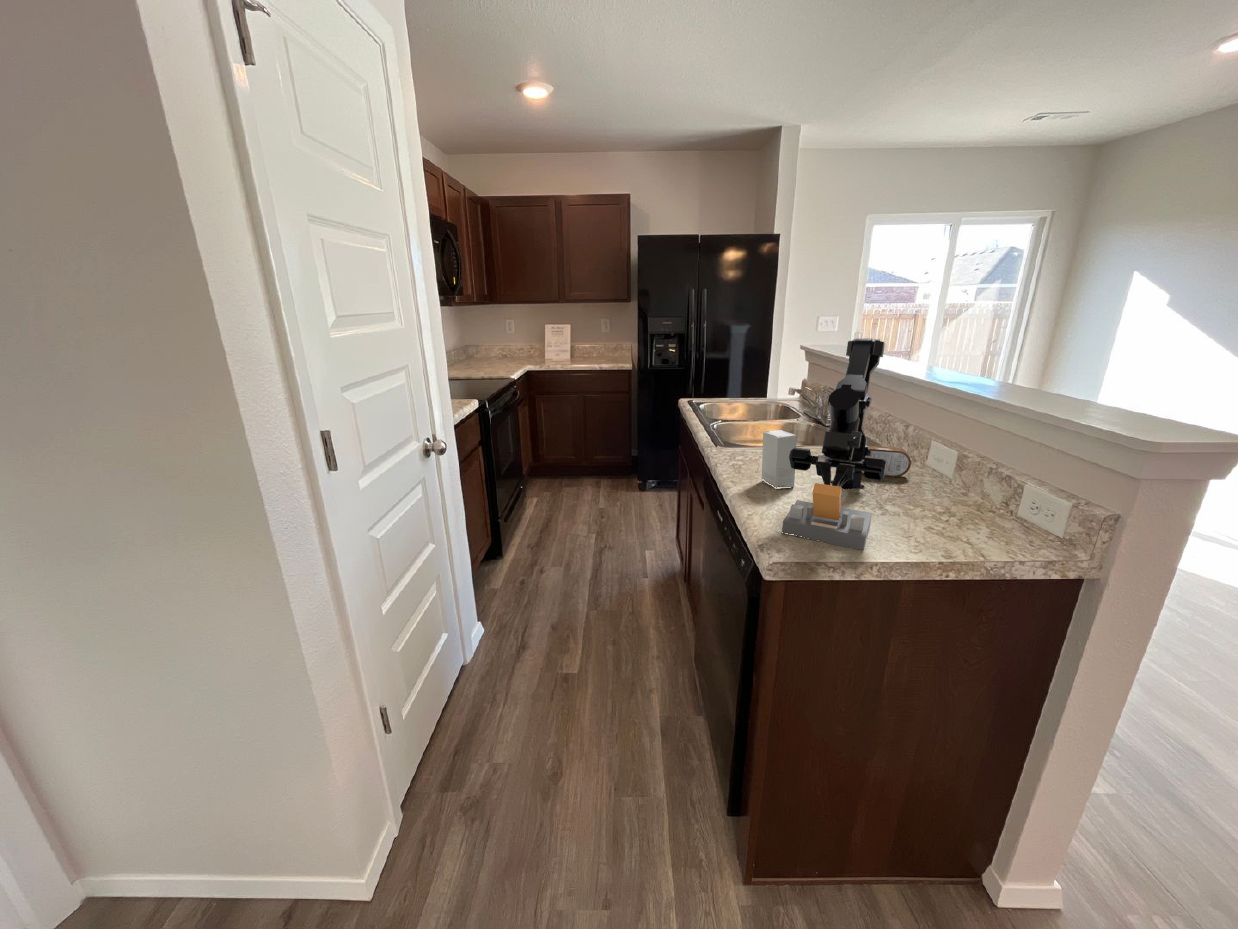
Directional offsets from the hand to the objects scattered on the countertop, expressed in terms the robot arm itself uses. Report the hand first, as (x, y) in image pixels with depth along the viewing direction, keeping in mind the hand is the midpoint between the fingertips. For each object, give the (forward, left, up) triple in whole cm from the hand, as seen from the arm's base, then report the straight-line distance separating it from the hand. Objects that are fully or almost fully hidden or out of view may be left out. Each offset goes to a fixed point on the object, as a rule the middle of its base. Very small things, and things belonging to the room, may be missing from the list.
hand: (828, 498), depth 101 cm
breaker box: (-2, +2, -8) cm, 9 cm away
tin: (-31, +41, -9) cm, 52 cm away
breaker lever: (-1, +1, -4) cm, 4 cm away
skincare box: (-32, +8, -9) cm, 34 cm away
